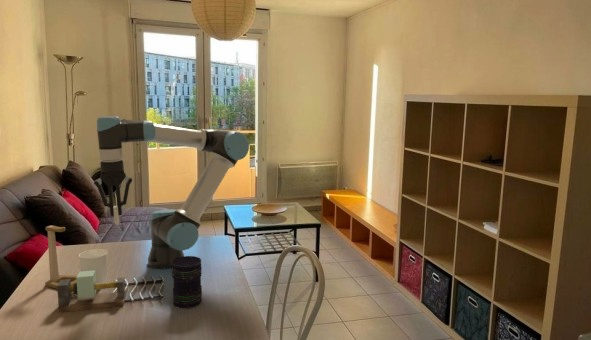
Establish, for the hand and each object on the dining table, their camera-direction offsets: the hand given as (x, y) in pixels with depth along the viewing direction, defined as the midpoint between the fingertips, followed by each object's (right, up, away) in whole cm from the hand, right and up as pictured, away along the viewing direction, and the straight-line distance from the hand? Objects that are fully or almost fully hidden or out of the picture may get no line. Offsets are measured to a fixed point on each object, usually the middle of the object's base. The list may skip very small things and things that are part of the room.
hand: (117, 223), depth 154 cm
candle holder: (-11, -24, +6) cm, 27 cm away
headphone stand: (-22, -23, +5) cm, 33 cm away
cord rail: (-4, -26, -10) cm, 28 cm away
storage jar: (+28, -26, -7) cm, 39 cm away
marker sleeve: (-6, -23, -11) cm, 26 cm away
